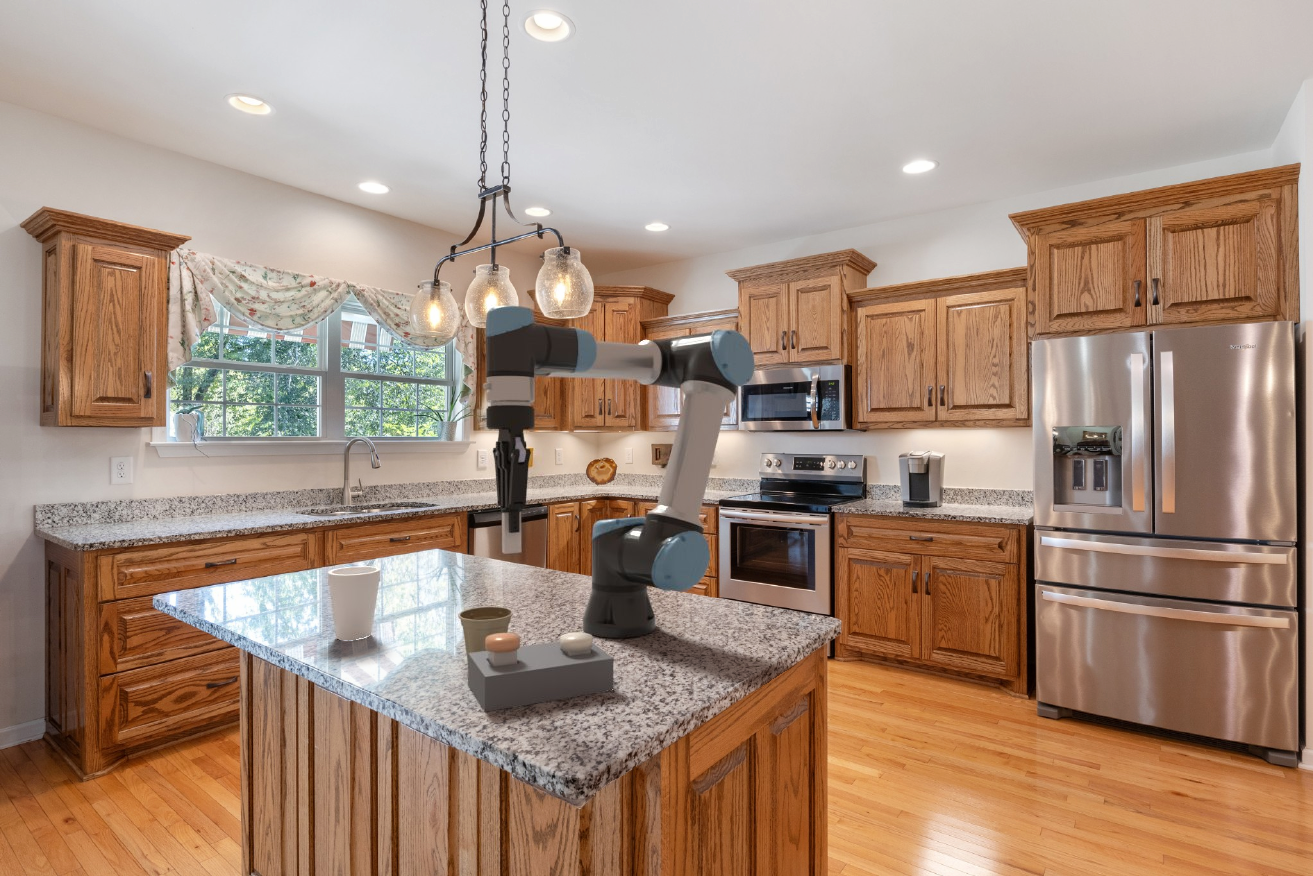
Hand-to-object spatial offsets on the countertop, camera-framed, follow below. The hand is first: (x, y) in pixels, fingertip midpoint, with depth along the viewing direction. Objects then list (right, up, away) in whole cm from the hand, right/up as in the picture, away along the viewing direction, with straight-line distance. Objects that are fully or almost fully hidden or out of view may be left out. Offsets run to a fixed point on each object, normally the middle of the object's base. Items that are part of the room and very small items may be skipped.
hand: (511, 552), depth 108 cm
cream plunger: (+10, -21, +1) cm, 23 cm away
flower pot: (-7, -21, +11) cm, 25 cm away
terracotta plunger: (-1, -19, -4) cm, 20 cm away
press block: (+5, -21, -1) cm, 22 cm away
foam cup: (-37, -21, +25) cm, 49 cm away
